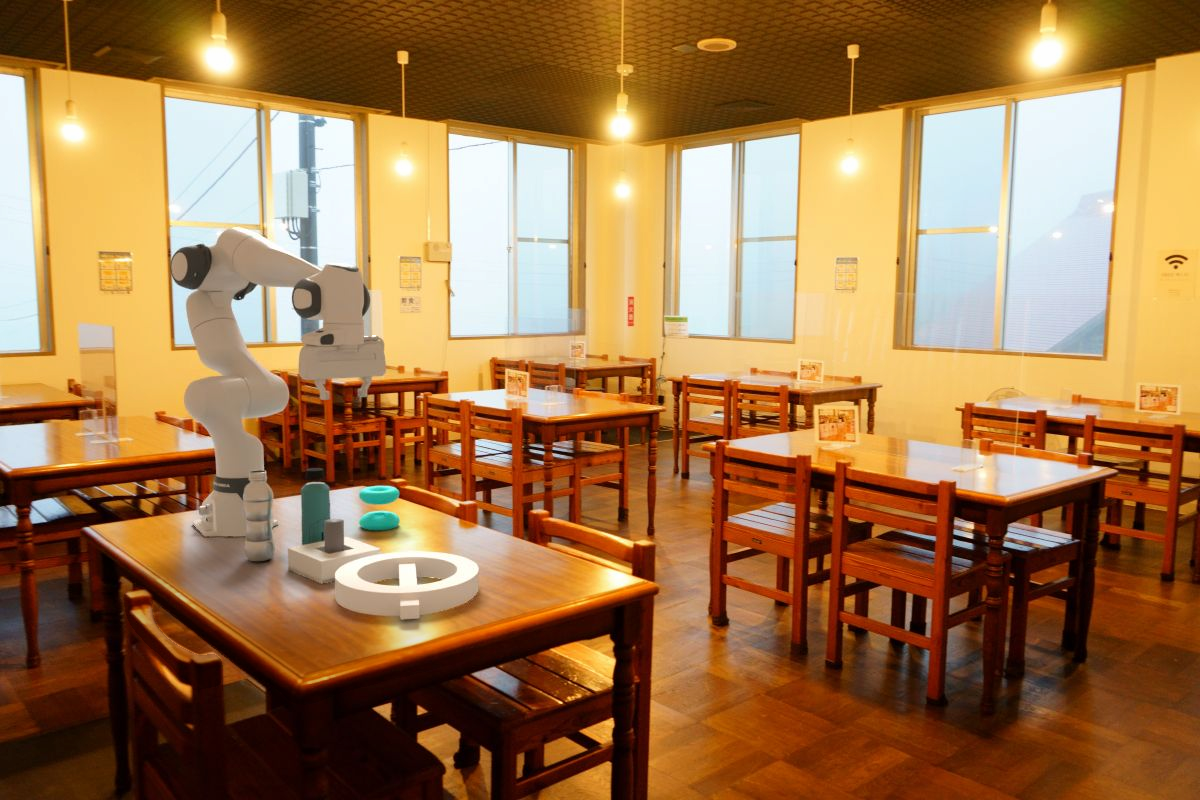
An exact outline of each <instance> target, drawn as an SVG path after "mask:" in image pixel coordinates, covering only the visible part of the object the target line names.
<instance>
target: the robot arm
mask: <svg viewBox="0 0 1200 800" xmlns="http://www.w3.org/2000/svg"><path fill="white" fill-rule="evenodd" d="M169 269H170V273H171V274H170V275H171V277H172V279H173V281H174V282H175V284H176V285H177V286H179V287H182V288H184V289H187V290H191V291H192V292H191V293H190V294H189V295H188V296H187V297H186V301H185V310H186V317H187V321H188V326H189V331H190V334H191V337H192V339H193V342H194V345H195V348H196V351H197V355H198V357H199V360H200V362H201V363H202V364H203V365H204V366H205V367H206V368H208V369H211V370H212V371H215V372H217V373H219V375H211V376H208V377H203V378H199V379H195V380H193V381H191V382H190V383H189V384H188V385H187V387H186V389H185V391H184V395H183V403H184V407H185V410H186V411H187V413H188V414H189V415H190V417H191V418H192V419H194V420H196V421H197V422H199V423H200V424H201V425H202V426H203V427H204V428H205V430H206V431H207V432H208V435H209V436H210V437H211V441H212V443H213V447H214V448H213V449H214V456H215V470H216V472H215V473H216V474H215V475H213V478H214V479H213V484H212V489H213V490H212V492H210V494H209V495H208V496H207V497H206V498H205V499H204V500H202V501H203V502H202V504H201V505H200V506H199V507H198V515H199V516H201V518H198V519H197V518H196V519H195V520H193V521H191V524H193V525H194V526H195V527H196V528H197V529H198V530H199V531H200V532H201V533H202V534H201V533H200V532H199V531H198V530H197V529H196V528H195V527H194V526H193V525H192V526H193V527H194V528H195V529H196V530H197V531H198V532H199V533H200V534H201V535H202V536H203V535H204V536H203V537H207V536H209V537H228V536H233V537H246V526H247V524H246V521H247V520H246V512H245V507H244V500H243V494H244V491H245V489H246V488H247V486H248V485H249V483H250V481H249V472H250V471H253V470H265V466H264V465H265V461H264V460H265V459H264V458H265V457H264V444H263V443H262V441H261V440H260V439H259V438H258V437H257V436H255V435H254V434H251V433H249V432H246V430H245V428H244V426H243V420H246V419H255V418H265V417H269V416H272V415H275V414H278V413H282V412H283V411H284V410H285V409H286V407H287V405H288V403H289V399H290V391H289V387H288V385H287V382H286V381H285V380H284V379H283V378H282V377H281V376H279V375H277V374H275V373H273V372H272V371H270V370H268V368H267V369H266V367H265V366H263V365H262V364H261V363H260V362H259V361H258V360H257V359H256V358H255V357H254V356H253V354H252V353H251V352H250V350H249V349H248V347H247V345H246V343H245V340H244V338H243V335H242V332H241V329H240V328H239V325H238V322H237V319H236V316H235V315H234V311H233V307H232V302H233V300H235V301H241V300H244V299H245V297H246V295H247V294H250V293H252V292H253V290H254V289H256V287H257V286H258V285H259V286H260V287H261V286H262V287H269V288H271V287H272V288H293V289H292V293H291V305H292V307H293V309H294V311H295V313H296V314H297V315H298V316H299V317H300V318H302V319H305V320H309V321H322V327H321V328H318V329H316V330H313V331H310V332H307V333H305V334H303V335H301V343H302V344H303V346H302V347H301V348H300V351H299V354H298V355H299V356H298V366H297V367H298V375H299V377H300V378H301V379H303V380H306V381H314V385H315V386H316V388H317V390H318V391H319V399H320V400H321V401H326V400H330V399H331V397H330V395H331V392H330V391H328V390H326V388H325V386H324V385H326V380H333V379H335V380H336V379H337V380H338V379H348V378H349V379H351V378H356V379H357V378H361V381H362V382H363V383H362V385H361V386H360V388H357V397H358V398H366V397H368V390H369V388H370V386H371V384H372V382H373V377H374V378H375V377H384V375H385V374H386V372H387V363H386V356H385V354H386V353H385V342H384V340H383V339H382V338H381V337H379V336H377V335H372V336H370V335H369V336H368V335H365V320H364V316H365V315H366V313H368V310H369V308H370V305H371V295H370V292H369V289H368V288H367V286H366V284H365V283H364V280H363V276H362V272H361V270H360V268H359V267H358V266H356V265H354V264H349V263H344V262H328V263H325V264H324V267H321V266H318V265H317V264H315V263H313V262H310V261H308V260H305V258H304V259H303V258H302V257H300V256H298V255H296V254H295V253H292V252H290V251H288V250H286V249H285V248H283V247H281V246H279V245H278V244H277V243H274V242H273V241H272V240H270V239H268V238H266V237H265V236H263V235H261V234H259V233H257V232H254V231H252V230H249V229H246V228H242V227H238V226H237V227H236V226H235V227H230V228H226V229H224V230H223V232H221V233H220V235H219V236H218V238H217V240H216V243H215V244H214V245H211V246H209V245H208V246H207V245H205V244H204V243H198V244H195V245H188V246H183V247H180V248H178V250H176V251H175V252H174V253H173V256H172V258H171V259H170V267H169ZM267 480H268V479H267ZM267 480H266V482H267ZM271 525H272V528H273V527H276V526H277V525H279V521H278V519H275V518H274V513H273V509H272V518H271Z"/></svg>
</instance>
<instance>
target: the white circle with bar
mask: <svg viewBox="0 0 1200 800" xmlns="http://www.w3.org/2000/svg"><path fill="white" fill-rule="evenodd" d="M479 571H480V570H479V566H478V564H477V563H476V562H475V561H473V560H471V559H469V558H467V557H465V556H462V555H457V554H453V553H447V552H436V551H419V550H417V551H396V552H385V553H381V554H379V555H373V556H369V557H364V558H361V559H357V560H354V561H352V562H349V563H347V564H345V565H343V566H341V567H340V568H339V569H338V570H337V571H336V572H335V582H334V597H335V598H334V599H335V601H336V603H337V604H338V605H340V606H341V607H343V608H344V609H347V610H349V611H352V612H355V613H359V614H365V615H372V616H381V617H382V616H383V617H384V616H385V617H386V616H387V617H400V620H412V619H413V620H415V619H420V615H429V614H434V613H433V612H435V613H439V612H438V611H441V612H443V611H442V610H445V611H447V610H446V609H449V608H452V607H455V606H457V605H460V604H462V603H464V602H466V601H468V600H469V599H471V598H472V597H474V596H475V595H476V593H477V592H478V593H479V591H478V589H479V588H480V587H479V585H480V584H479V579H480V578H479ZM422 577H434V578H440V579H444V580H438V581H434V582H429V583H424V584H418V578H422ZM391 578H396V579H398V582H399V585H388V584H387V585H386V584H379V583H378V582H377V581H380V582H382V581H381V580H384V581H386V580H385V579H389V580H392V579H391ZM374 582H376V583H374ZM452 609H453V608H452ZM449 610H450V609H449ZM428 613H429V614H428Z"/></svg>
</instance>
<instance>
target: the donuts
mask: <svg viewBox="0 0 1200 800" xmlns="http://www.w3.org/2000/svg"><path fill="white" fill-rule="evenodd" d="M358 496H359V499H360V500H361V501H362V502H363V503H365V504H367V505H368V504H369V505H374V506H376V505H377V506H381V505H388V504H391V503H394V502H395V501H397V500H398V498H399V497H400V491H399V489H397V487H395V486H391V485H374V486H373V485H372V486H367V487H364V488H362V489H361V490H360V491H359V494H358ZM400 522H401V521H400V517H399V516H398V515H397V513H394V512H392V511H388V510H387V511H386V510H376V511H369V512H366V513H365V514H362V516H361V517H360V518H359V526H360V527H361V528H362V529H364V530H367V531H375V532H376V531H379V532H380V531H387V530H392V529H395V528H396V527H398V526H399V524H400Z"/></svg>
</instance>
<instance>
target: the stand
mask: <svg viewBox="0 0 1200 800" xmlns="http://www.w3.org/2000/svg"><path fill="white" fill-rule="evenodd" d="M379 554H382V550H381V548H380V547H376V546H374V545H371V544H369V543H366V542H363V541H360V540H357V539H354V538H351V537H348V536H344V551H340V552H336V553H331V554H328V553H326V552H325V541H321V542H316V543H311V544H306V545H302V544H301V545H297V546H291V547H288V548H287V562H288V563H287V565H288V571H290V570H291V571H290V572H292V571H293V572H292V573H295V574H297V573H298V574H297V575H299V576H301V575H302V577H304V578H306V577H307V578H306V579H308V578H309V580H311V581H313V580H314V581H313V582H315V581H316V582H315V583H318V582H319V583H318V584H320V583H326V584H328V583H327V582H330V583H333V582H332V581H335V572H336V571H337V570H338V569H339V568H340V567H341V566H343V565H345V564H347V563H349V562H352V561H354V560H357V559H361V558H364V557H369V556H373V555H379Z"/></svg>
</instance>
